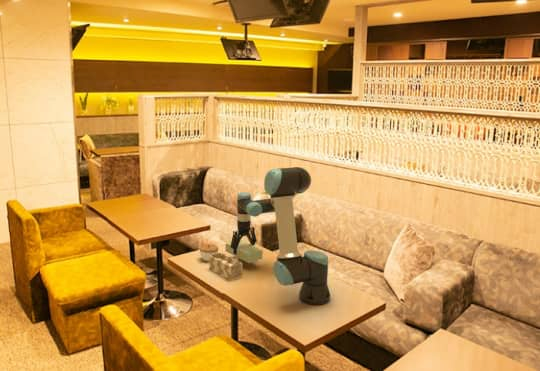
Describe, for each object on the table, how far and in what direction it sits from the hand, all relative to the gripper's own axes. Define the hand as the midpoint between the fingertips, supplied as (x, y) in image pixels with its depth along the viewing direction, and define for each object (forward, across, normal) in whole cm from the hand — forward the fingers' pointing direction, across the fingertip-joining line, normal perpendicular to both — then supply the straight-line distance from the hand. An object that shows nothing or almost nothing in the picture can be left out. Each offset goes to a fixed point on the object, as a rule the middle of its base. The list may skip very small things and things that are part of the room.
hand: (243, 257), depth 264 cm
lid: (-1, 0, 0) cm, 1 cm away
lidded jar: (+4, +13, -17) cm, 21 cm away
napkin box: (+4, +16, +4) cm, 17 cm away
